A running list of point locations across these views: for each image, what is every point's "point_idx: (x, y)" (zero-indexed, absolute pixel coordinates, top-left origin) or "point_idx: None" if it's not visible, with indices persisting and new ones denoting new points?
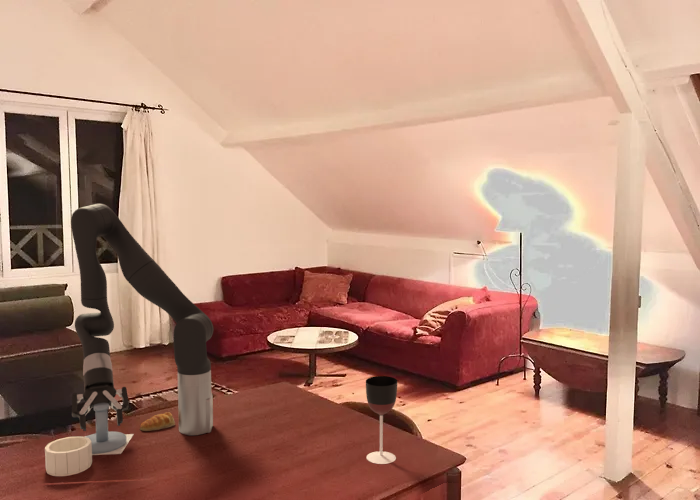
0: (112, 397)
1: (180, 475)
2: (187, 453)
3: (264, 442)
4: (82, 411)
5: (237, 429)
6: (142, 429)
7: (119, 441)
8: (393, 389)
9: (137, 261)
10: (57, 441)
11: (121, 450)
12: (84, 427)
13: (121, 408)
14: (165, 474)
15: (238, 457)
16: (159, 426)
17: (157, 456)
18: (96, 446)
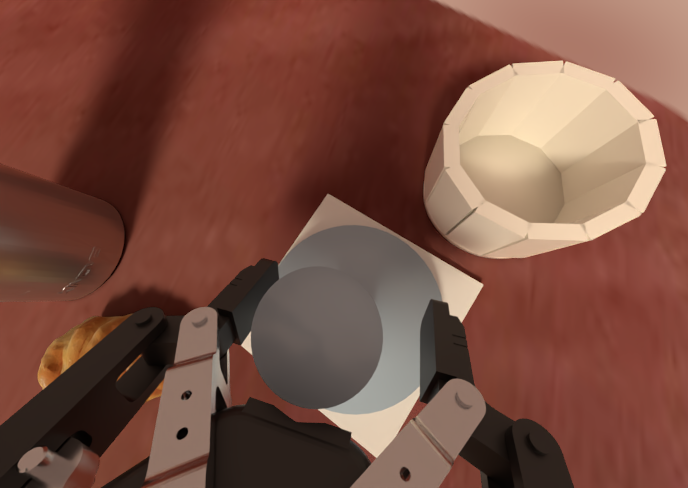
0: (166, 412)
1: (263, 9)
2: (190, 106)
3: (40, 70)
4: (462, 402)
5: None
6: None
7: (304, 256)
8: None
9: None
10: (595, 216)
11: (318, 215)
12: (440, 301)
13: (198, 309)
14: (286, 28)
15: (127, 30)
16: None
17: (254, 129)
18: (386, 261)
